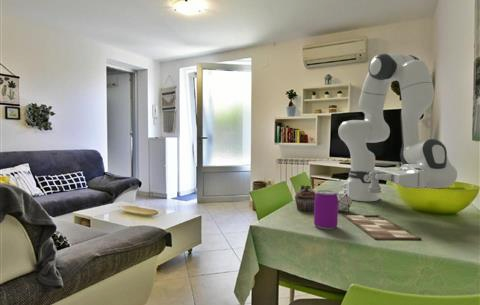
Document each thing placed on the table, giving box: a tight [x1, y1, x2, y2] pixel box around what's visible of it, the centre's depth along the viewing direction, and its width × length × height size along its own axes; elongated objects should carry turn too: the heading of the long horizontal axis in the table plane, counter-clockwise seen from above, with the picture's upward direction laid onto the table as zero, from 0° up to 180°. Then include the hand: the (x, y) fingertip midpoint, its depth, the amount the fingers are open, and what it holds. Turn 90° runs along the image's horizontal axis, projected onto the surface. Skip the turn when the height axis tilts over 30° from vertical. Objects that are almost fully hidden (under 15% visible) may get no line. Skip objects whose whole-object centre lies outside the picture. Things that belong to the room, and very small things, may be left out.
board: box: [342, 214, 422, 241], centre depth 101 cm, size 26×14×1 cm, turn 1°
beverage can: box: [313, 189, 339, 231], centre depth 99 cm, size 8×8×12 cm
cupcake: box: [294, 185, 317, 213], centre depth 123 cm, size 10×10×10 cm
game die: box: [336, 192, 356, 213], centre depth 120 cm, size 9×8×10 cm
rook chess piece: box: [368, 170, 382, 194], centre depth 109 cm, size 4×4×8 cm
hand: (372, 175), depth 109 cm, fingers closed on rook chess piece, 3 cm apart
